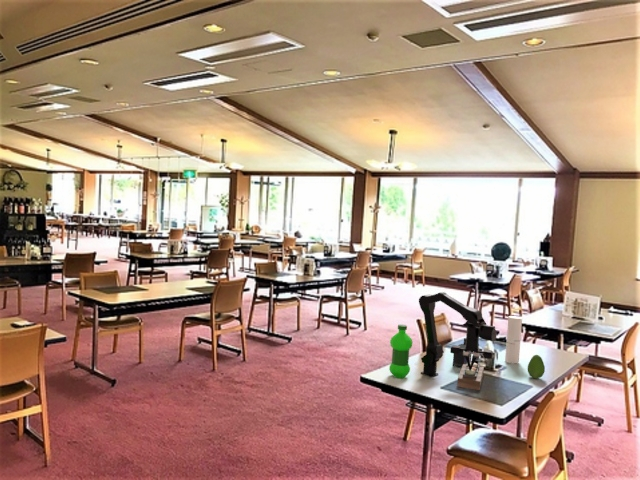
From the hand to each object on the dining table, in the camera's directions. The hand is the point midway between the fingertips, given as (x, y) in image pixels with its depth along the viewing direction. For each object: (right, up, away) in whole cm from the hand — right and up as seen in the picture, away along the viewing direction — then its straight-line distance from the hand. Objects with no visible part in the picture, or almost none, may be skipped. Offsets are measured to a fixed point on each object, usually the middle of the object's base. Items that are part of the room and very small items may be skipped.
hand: (470, 369), depth 244 cm
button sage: (0, -2, 0) cm, 2 cm away
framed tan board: (+3, -7, +8) cm, 11 cm away
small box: (+5, -6, +32) cm, 33 cm away
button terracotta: (+3, -3, +8) cm, 9 cm away
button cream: (+6, -2, +15) cm, 16 cm away
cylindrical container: (+36, -7, +45) cm, 58 cm away
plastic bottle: (-32, -5, +8) cm, 34 cm away
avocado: (+38, -9, +17) cm, 42 cm away
